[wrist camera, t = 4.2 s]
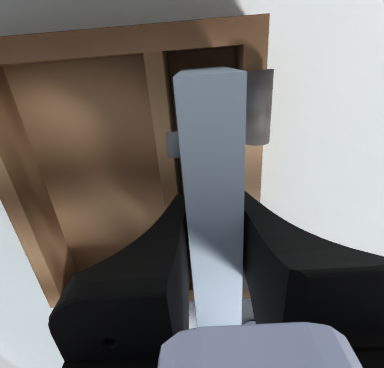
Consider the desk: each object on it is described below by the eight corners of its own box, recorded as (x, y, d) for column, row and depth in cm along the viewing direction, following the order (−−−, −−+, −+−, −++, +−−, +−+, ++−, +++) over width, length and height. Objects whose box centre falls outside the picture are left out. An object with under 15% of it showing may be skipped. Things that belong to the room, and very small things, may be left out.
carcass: (246, 260, 20) (260, 314, 16) (72, 270, 20) (41, 324, 16) (253, 24, 13) (281, 7, 9) (-11, 47, 14) (-103, 40, 9)
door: (225, 257, 17) (240, 345, 12) (188, 259, 18) (186, 347, 12) (222, 66, 12) (247, 71, 7) (168, 70, 12) (150, 78, 7)
